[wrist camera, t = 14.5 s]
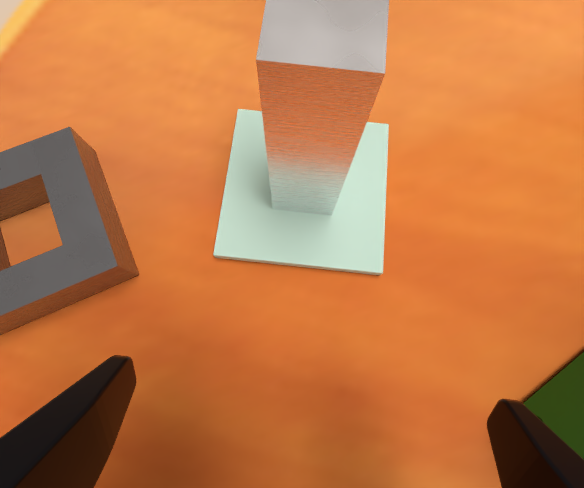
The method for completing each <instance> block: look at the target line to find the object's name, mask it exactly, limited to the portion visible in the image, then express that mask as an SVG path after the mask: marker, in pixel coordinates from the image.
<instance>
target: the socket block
mask: <svg viewBox="0 0 584 488" xmlns="http://www.w3.org/2000/svg"><path fill="white" fill-rule="evenodd" d="M47 202H50V205H51V208H52V211H53V214H54V217H55V221H56V224H57V227H58V230H59V234H60V237H61V240H62V243H63V246H60V247H58V248H55V249H53V250H50V251H48V252H45V253H43V254H41V255H38V256H36V257H33V258H31V259H28V260H26V261H23V262H21V263H19V264H16V265H14V266H11V267H10V264H9V260H8V256H7V252H6V249H5V245H4V241H3V237H2V234H1V230H0V335H1V334H3V333H6V332H8V331H10V330H13V329H15V328H17V327H20V326H22V325H24V324H27V323H29V322H31V321H33V320H36V319H38V318H40V317H43V316H45V315H47V314H50V313H52V312H54V311H57V310H59V309H61V308H64V307H66V306H68V305H71V304H73V303H75V302H77V301H80V300H82V299H84V298H87V297H89V296H91V295H94V294H96V293H98V292H101V291H103V290H105V289H108V288H110V287H112V286H115V285H117V284H119V283H121V282H124V281H126V280H128V279H131V278H133V277H135V276H138V275H139V273H138V270H137V267H136V264H135V262H134V259H133V256H132V253H131V250H130V248H129V245H128V242H127V239H126V236H125V234H124V231H123V228H122V225H121V222H120V220H119V217H118V214H117V211H116V208H115V206H114V203H113V200H112V197H111V194H110V192H109V189H108V186H107V183H106V180H105V178H104V175H103V172H102V169H101V166H100V164H99V161H98V158H97V155H96V152H95V151H94V150H93V149H92V148H91V147H90V146H89V145H88V144H87V143H86V142H85V141H84V140H83V139H82V138H81V137H80V136H79V135H78V134H77V133H76V132H75V131H74V130H73V129H72V128H71V127H68V128H65V129H62V130H60V131H57V132H54V133H52V134H49V135H46V136H43V137H41V138H38V139H35V140H33V141H30V142H27V143H24V144H22V145H19V146H16V147H14V148H11V149H8V150H5V151H3V152H0V221H1V220H4V219H7V218H9V217H12V216H14V215H17V214H19V213H22V212H24V211H27V210H29V209H32V208H35V207H37V206H40V205H42V204H45V203H47Z"/></svg>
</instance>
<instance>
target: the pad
mask: <svg viewBox="0 0 584 488" xmlns="http://www.w3.org/2000/svg"><path fill="white" fill-rule="evenodd" d="M388 128H389V124H382V123H372V122H367V123H366V126H365V128H364V131H363V134H362V136H361V139H360V142H359V144H358V147H357V150H356V152H355V155H354V158H353V160H352V163H351V166H350V168H349V171H348V174H347V177H346V179H345V182H344V185H343V187H342V190H341V193H340V195H339V198H338V201H337V203H336V206H335V209H334V211H333V214H332V216H330V215H321V214H313V213H304V212H295V211H286V210H277V209H273V207H272V198H271V189H270V180H269V171H268V162H267V153H266V144H265V135H264V126H263V117H262V111H254V110H244V109H238V113H237V119H236V124H235V130H234V136H233V142H232V148H231V154H230V160H229V166H228V172H227V177H226V183H225V189H224V195H223V201H222V207H221V213H220V219H219V225H218V231H217V236H216V242H215V248H214V254H213V255H214V256H215V257H216V258H223V259H232V260H242V261H251V262H260V263H270V264H279V265H288V266H298V267H307V268H316V269H326V270H335V271H344V272H354V273H363V274H372V275H381V274H382V273H383V257H384V231H385V206H386V180H387V154H388Z"/></svg>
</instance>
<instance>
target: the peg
mask: <svg viewBox="0 0 584 488" xmlns="http://www.w3.org/2000/svg"><path fill="white" fill-rule="evenodd" d="M388 8H389V0H266V5H265V11H264V16H263V22H262V28H261V34H260V40H259V46H258V52H257V57H256V63H257V72H258V81H259V90H260V99H261V108H262V117H263V126H264V135H265V144H266V153H267V162H268V171H269V180H270V189H271V198H272V207H273V209H277V210H286V211H295V212H304V213H313V214H321V215H330V216H332V214H333V211H334V209H335V206H336V203H337V201H338V198H339V195H340V193H341V190H342V187H343V185H344V182H345V179H346V177H347V174H348V171H349V168H350V166H351V163H352V160H353V158H354V155H355V152H356V150H357V147H358V144H359V142H360V139H361V136H362V134H363V131H364V128H365V126H366V123H367V120H368V118H369V115H370V112H371V110H372V107H373V104H374V102H375V99H376V96H377V93H378V91H379V88H380V85H381V83H382V80H383V77H384V75H385V64H386V45H387V26H388Z"/></svg>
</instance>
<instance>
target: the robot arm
mask: <svg viewBox="0 0 584 488" xmlns="http://www.w3.org/2000/svg"><path fill="white" fill-rule="evenodd" d="M135 386H136V375H135V370H134V365H133V361H132V359H131V358H130V357H128V356H120V355H114V356H112V357H110V358H109V359H107V360H106V361H105V362H103V363H102V364H101V365H99V366H98V367H96V368H95V369H94V370H92V371H91V372H90V373H88V374H87V375H85V376H84V377H83V378H81V379H80V380H79V381H77V382H76V383H75V384H73V385H72V386H70V387H69V388H68V389H66V390H65V391H64V392H62V393H61V394H60V395H58V396H57V397H55V398H54V399H53V400H51V401H50V402H49V403H47V404H46V405H44V406H43V407H42V408H40V409H39V410H38V411H36V412H35V413H34V414H32V415H31V416H29V417H28V418H27V419H25V420H24V421H23V422H21V423H20V424H19V425H17V426H16V427H14V428H13V429H12V430H10V431H9V432H8V433H6V434H5V435H4V436H2V437H1V438H0V488H94V486H95V484H96V482H97V480H98V478H99V476H100V474H101V472H102V470H103V468H104V466H105V464H106V462H107V459H108V457H109V455H110V453H111V450H112V448H113V445H114V443H115V440H116V438H117V435H118V432H119V430H120V427H121V424H122V422H123V419H124V416H125V413H126V411H127V408H128V405H129V403H130V400H131V397H132V395H133V392H134V389H135ZM487 429H488V433H489V437H490V442H491V446H492V450H493V454H494V458H495V462H496V466H497V470H498V474H499V478H500V482H501V486H502V488H584V459H583V458H582V457H580V456H579V455H578V454H577V453H576V452H575V451H574V450H573V449H572V448H571V447H570V446H568V445H567V444H566V443H565V442H564V441H563V440H562V439H561V438H560V437H559V436H558V435H556V434H555V433H554V432H553V431H552V430H551V429H550V428H549V427H548V426H547V425H546V424H544V423H543V422H542V421H541V420H540V419H539V418H538V417H537V416H536V415H535V414H534V413H532V412H531V411H530V410H529V409H528V408H527V407H526V406H525V405H524V404H522V403H521V402H520V401H517V400H510V399H501V400H499V401H498V402H497V404H496V406H495V407H494V409H493V411H492V412H491V414H490V416H489V417H488V420H487Z"/></svg>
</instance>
